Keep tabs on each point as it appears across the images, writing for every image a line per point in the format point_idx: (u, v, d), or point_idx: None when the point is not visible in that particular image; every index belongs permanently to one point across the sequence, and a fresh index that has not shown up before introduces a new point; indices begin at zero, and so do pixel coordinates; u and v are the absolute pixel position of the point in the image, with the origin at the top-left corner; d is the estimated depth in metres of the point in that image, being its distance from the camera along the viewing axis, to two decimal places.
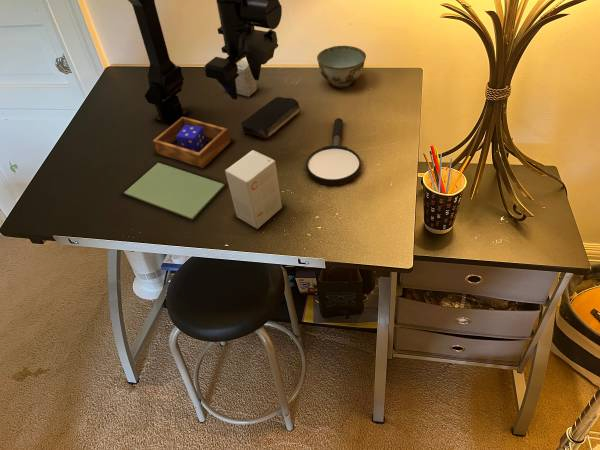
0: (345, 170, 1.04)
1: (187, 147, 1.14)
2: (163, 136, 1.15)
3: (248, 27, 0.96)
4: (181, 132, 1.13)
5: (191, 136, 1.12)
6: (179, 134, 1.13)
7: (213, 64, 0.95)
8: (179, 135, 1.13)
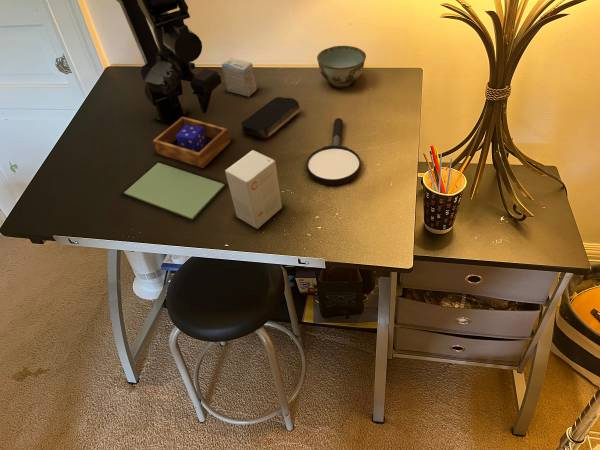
0: (345, 170, 1.04)
1: (187, 147, 1.14)
2: (163, 136, 1.15)
3: (167, 56, 0.97)
4: (181, 132, 1.13)
5: (191, 136, 1.12)
6: (179, 134, 1.13)
7: (151, 61, 1.05)
8: (179, 135, 1.13)
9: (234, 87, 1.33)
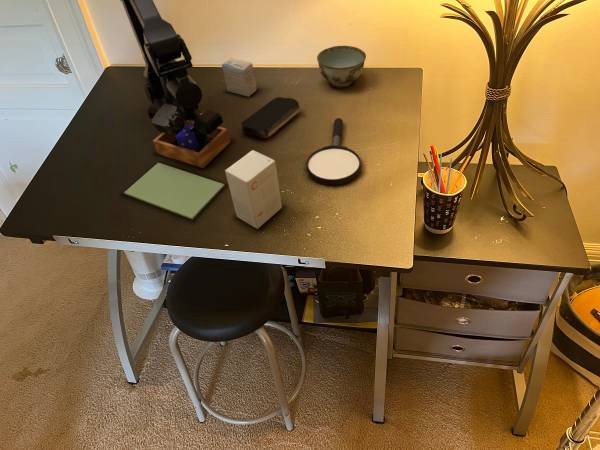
0: (345, 170, 1.04)
1: (187, 147, 1.14)
2: (163, 136, 1.15)
3: (172, 100, 1.04)
4: (181, 132, 1.13)
5: (191, 136, 1.12)
6: (179, 134, 1.13)
7: (157, 101, 1.13)
8: (179, 135, 1.13)
9: (234, 87, 1.33)
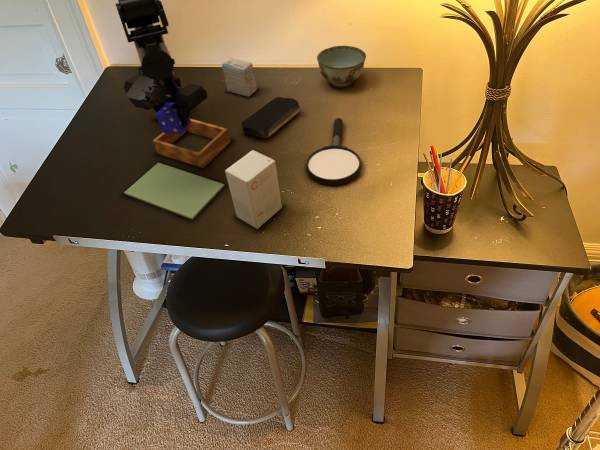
0: (345, 170, 1.04)
1: (169, 126, 1.02)
2: (163, 136, 1.15)
3: None
4: (162, 110, 1.02)
5: (173, 114, 1.00)
6: (159, 112, 1.01)
7: (134, 75, 1.01)
8: (159, 112, 1.01)
9: (234, 87, 1.33)
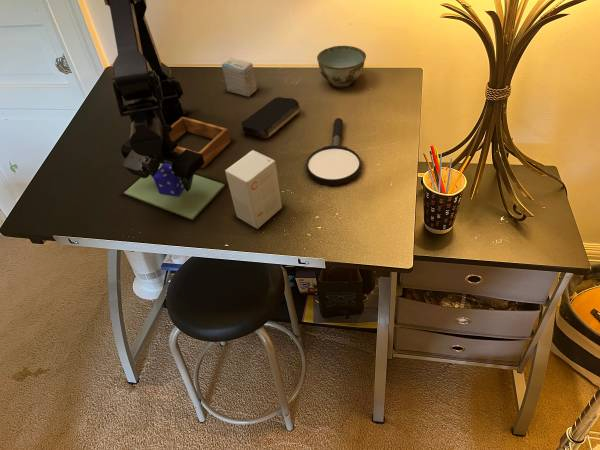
0: (345, 170, 1.04)
1: (166, 189, 1.03)
2: None
3: None
4: (159, 172, 1.02)
5: (170, 177, 1.00)
6: (156, 175, 1.01)
7: None
8: (156, 175, 1.01)
9: (234, 87, 1.33)
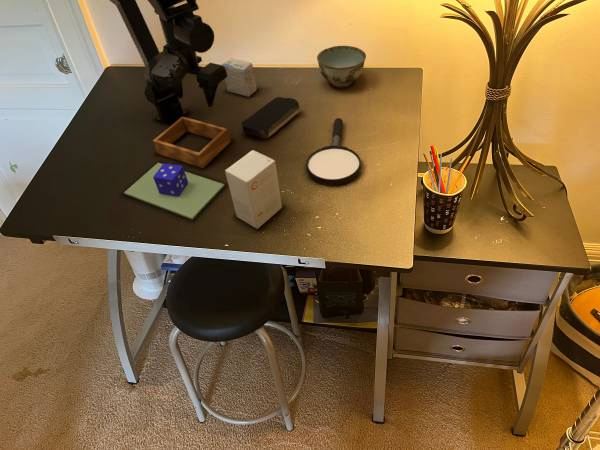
0: (345, 170, 1.04)
1: (166, 189, 1.03)
2: (163, 136, 1.15)
3: (174, 49, 0.98)
4: (159, 172, 1.02)
5: (170, 177, 1.00)
6: (156, 175, 1.01)
7: (158, 54, 1.07)
8: (156, 175, 1.01)
9: (234, 87, 1.33)
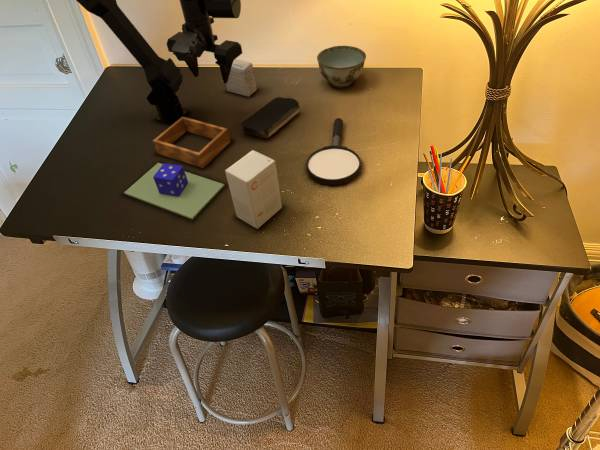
0: (345, 170, 1.04)
1: (166, 189, 1.03)
2: (163, 136, 1.15)
3: (192, 27, 1.04)
4: (159, 172, 1.02)
5: (170, 177, 1.00)
6: (156, 175, 1.01)
7: (176, 34, 1.13)
8: (156, 175, 1.01)
9: (234, 87, 1.33)
